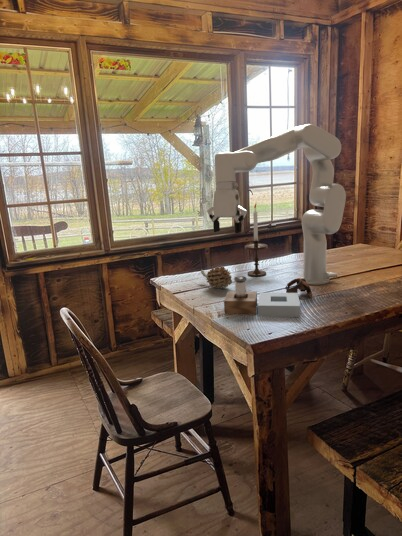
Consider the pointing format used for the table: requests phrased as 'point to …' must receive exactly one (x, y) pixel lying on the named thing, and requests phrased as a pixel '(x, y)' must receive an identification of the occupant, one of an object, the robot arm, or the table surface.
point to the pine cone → (218, 277)
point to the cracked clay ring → (299, 286)
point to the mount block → (240, 303)
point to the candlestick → (256, 248)
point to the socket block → (279, 305)
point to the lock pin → (240, 286)
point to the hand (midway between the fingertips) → (227, 232)
